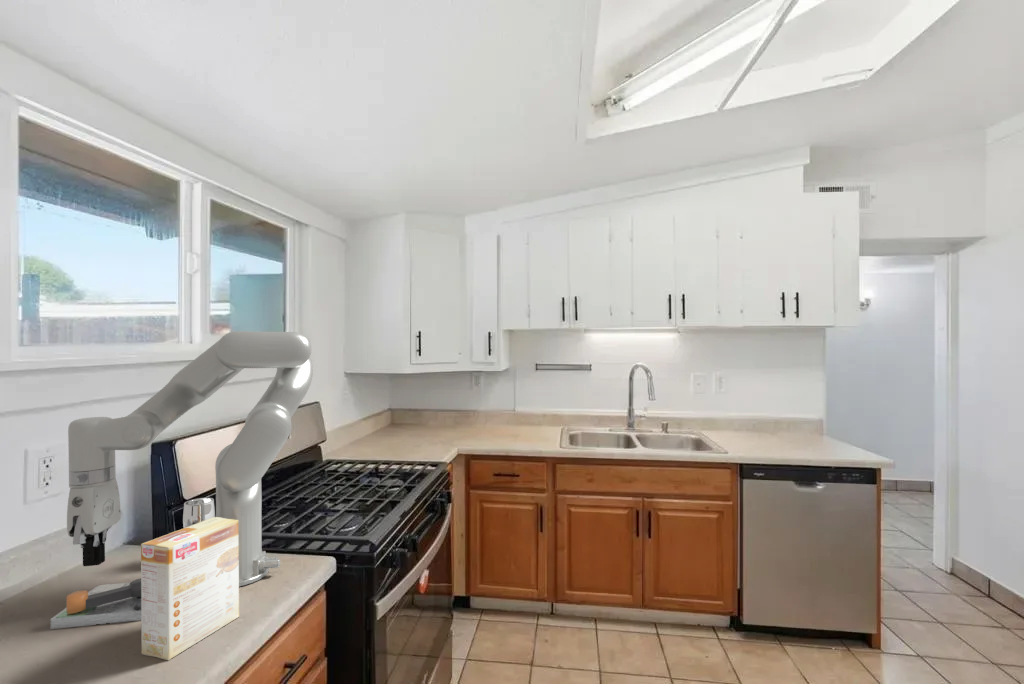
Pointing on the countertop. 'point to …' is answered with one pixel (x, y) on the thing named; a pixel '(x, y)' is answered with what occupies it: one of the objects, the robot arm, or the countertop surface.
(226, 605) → the coffeecake box
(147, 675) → the countertop surface
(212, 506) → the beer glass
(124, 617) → the panel
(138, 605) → the cord bundle
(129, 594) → the breaker lever
